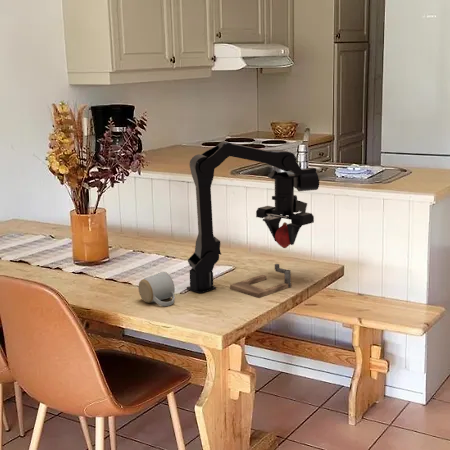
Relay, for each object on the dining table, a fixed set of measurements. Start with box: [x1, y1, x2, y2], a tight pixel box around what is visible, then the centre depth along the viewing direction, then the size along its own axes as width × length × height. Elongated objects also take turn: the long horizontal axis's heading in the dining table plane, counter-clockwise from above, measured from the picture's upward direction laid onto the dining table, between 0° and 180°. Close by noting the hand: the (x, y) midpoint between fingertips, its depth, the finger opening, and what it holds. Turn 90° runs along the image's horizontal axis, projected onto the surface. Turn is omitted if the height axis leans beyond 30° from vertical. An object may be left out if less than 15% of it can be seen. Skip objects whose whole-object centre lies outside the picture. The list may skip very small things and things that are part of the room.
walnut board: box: [229, 263, 293, 299], centre depth 209 cm, size 14×12×6 cm
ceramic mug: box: [137, 271, 176, 307], centre depth 199 cm, size 11×8×8 cm
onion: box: [274, 222, 291, 249], centre depth 214 cm, size 6×6×8 cm
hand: (284, 243), depth 214 cm, fingers closed on onion, 6 cm apart
